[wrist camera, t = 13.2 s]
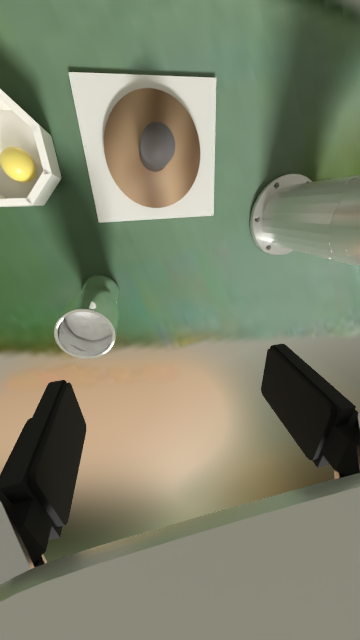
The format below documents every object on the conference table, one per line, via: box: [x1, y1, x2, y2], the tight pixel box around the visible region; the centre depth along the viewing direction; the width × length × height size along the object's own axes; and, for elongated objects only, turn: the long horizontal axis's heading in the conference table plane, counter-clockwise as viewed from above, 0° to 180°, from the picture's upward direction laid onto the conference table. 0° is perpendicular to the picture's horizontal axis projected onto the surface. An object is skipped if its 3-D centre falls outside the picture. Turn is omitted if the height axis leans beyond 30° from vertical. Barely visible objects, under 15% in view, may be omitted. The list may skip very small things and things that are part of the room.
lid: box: [104, 88, 200, 208], centre depth 28 cm, size 13×13×6 cm
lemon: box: [0, 147, 36, 183], centre depth 27 cm, size 4×4×4 cm
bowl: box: [0, 89, 61, 207], centre depth 26 cm, size 11×11×5 cm
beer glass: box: [54, 275, 119, 359], centre depth 31 cm, size 7×7×15 cm
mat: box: [68, 72, 216, 223], centre depth 31 cm, size 18×16×1 cm
